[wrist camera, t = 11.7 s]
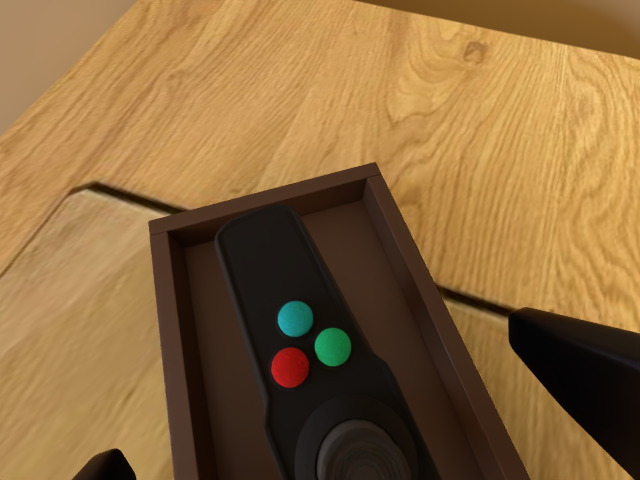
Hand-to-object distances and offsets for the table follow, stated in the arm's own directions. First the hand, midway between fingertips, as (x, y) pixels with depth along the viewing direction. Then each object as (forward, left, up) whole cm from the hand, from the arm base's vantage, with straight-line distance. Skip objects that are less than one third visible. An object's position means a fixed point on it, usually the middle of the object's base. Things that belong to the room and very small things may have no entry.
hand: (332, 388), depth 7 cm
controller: (+1, 0, -11) cm, 11 cm away
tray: (+1, 0, -11) cm, 11 cm away
